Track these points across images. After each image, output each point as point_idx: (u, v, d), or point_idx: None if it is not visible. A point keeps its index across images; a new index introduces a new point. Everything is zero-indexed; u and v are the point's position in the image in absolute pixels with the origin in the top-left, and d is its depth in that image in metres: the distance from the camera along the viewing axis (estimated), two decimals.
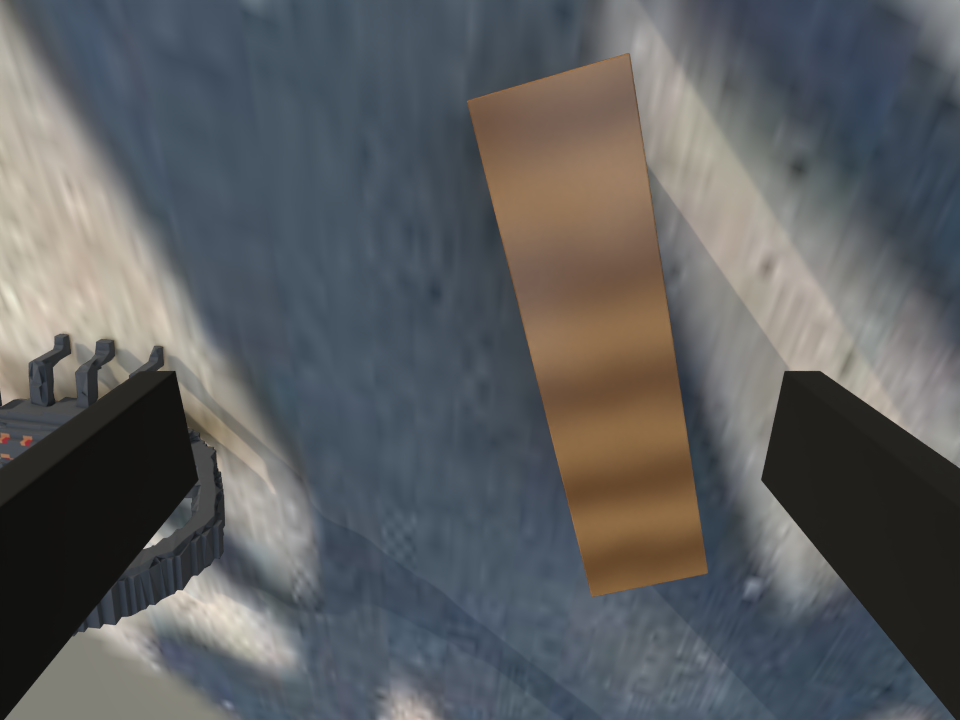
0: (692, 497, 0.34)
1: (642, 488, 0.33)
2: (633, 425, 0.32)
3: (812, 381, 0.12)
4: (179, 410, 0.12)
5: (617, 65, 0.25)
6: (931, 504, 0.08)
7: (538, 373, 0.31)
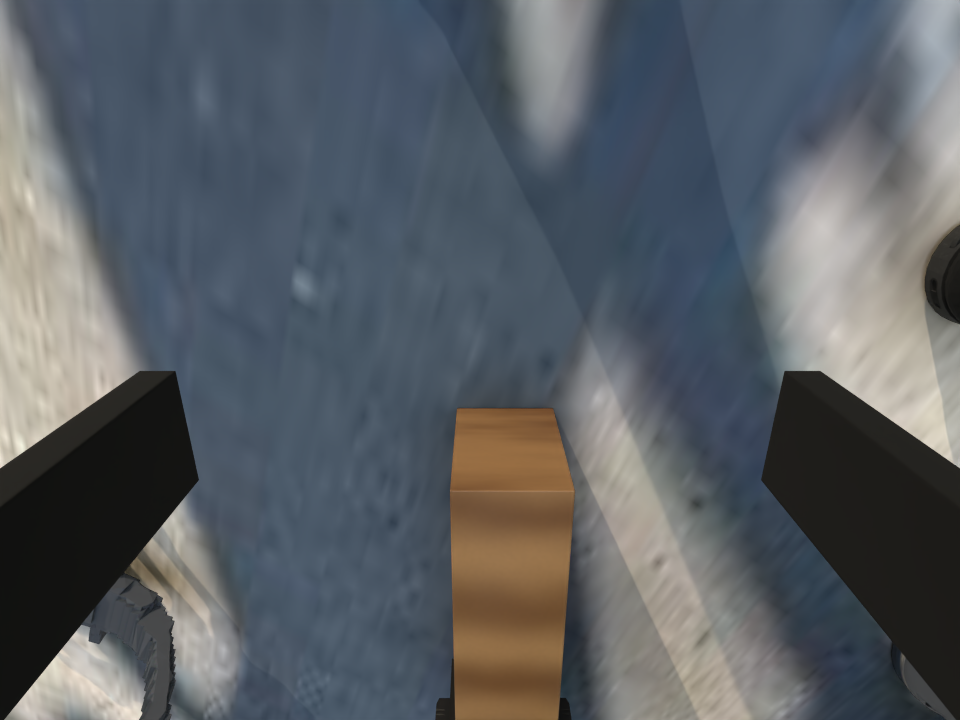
0: None
1: None
2: (519, 708, 0.41)
3: (812, 381, 0.12)
4: (179, 410, 0.12)
5: (564, 495, 0.34)
6: (931, 504, 0.08)
7: (455, 662, 0.39)
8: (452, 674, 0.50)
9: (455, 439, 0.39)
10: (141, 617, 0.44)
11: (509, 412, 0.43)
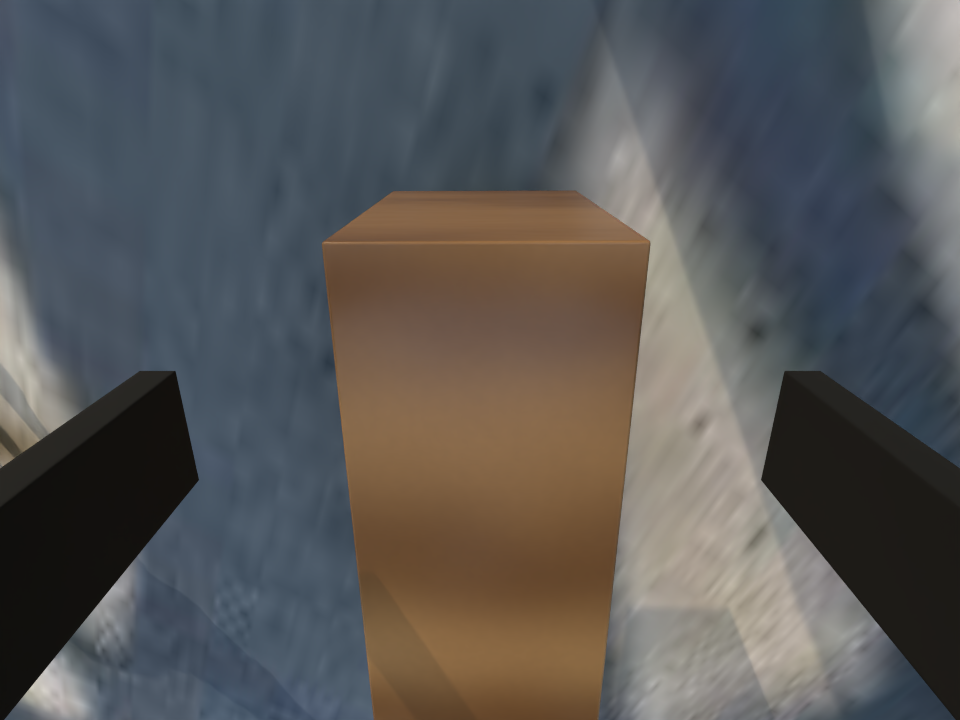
0: None
1: None
2: None
3: (812, 381, 0.12)
4: (179, 410, 0.12)
5: (623, 256, 0.13)
6: (930, 504, 0.08)
7: (373, 681, 0.18)
8: None
9: (372, 207, 0.18)
10: None
11: (492, 192, 0.22)
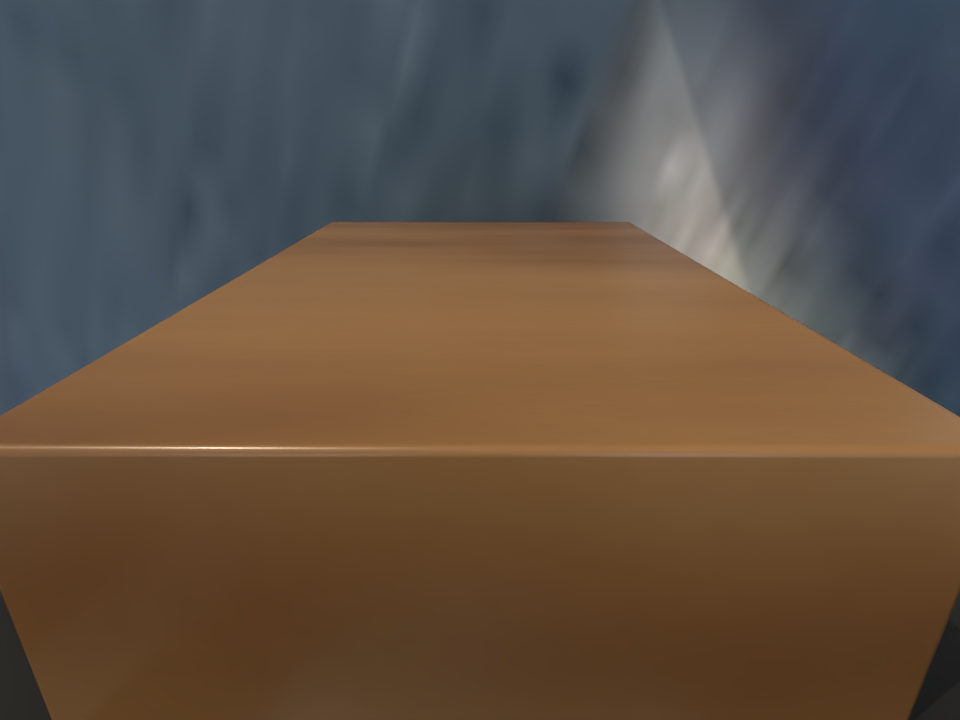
0: None
1: None
2: None
3: None
4: None
5: (920, 494, 0.04)
6: None
7: None
8: None
9: (264, 263, 0.10)
10: None
11: (493, 226, 0.13)
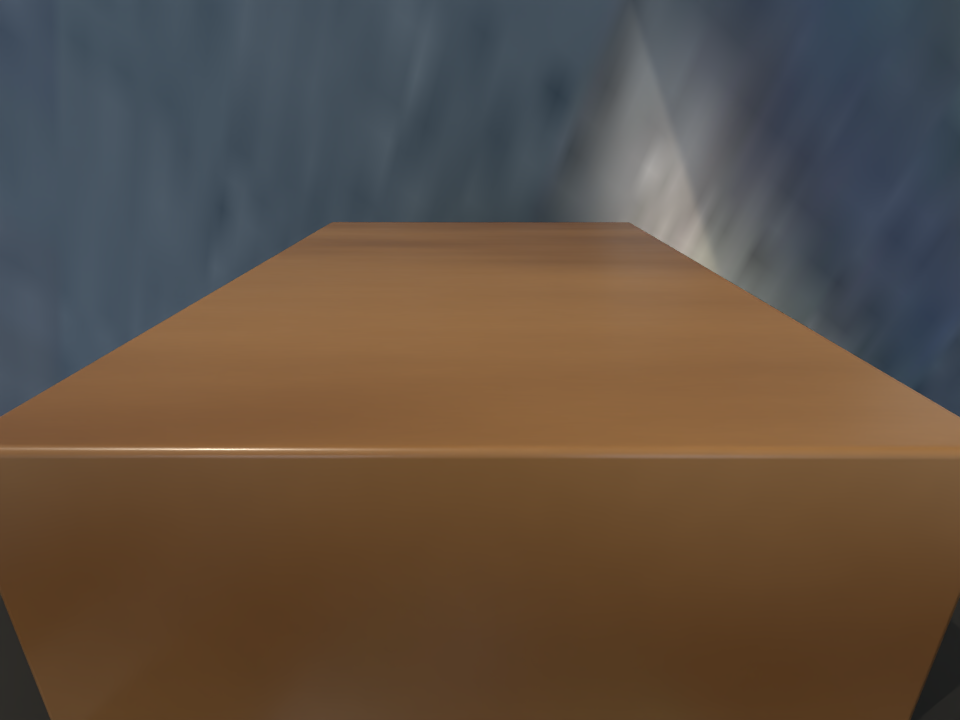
0: None
1: None
2: None
3: None
4: None
5: (920, 494, 0.04)
6: None
7: None
8: None
9: (264, 263, 0.10)
10: None
11: (494, 226, 0.13)
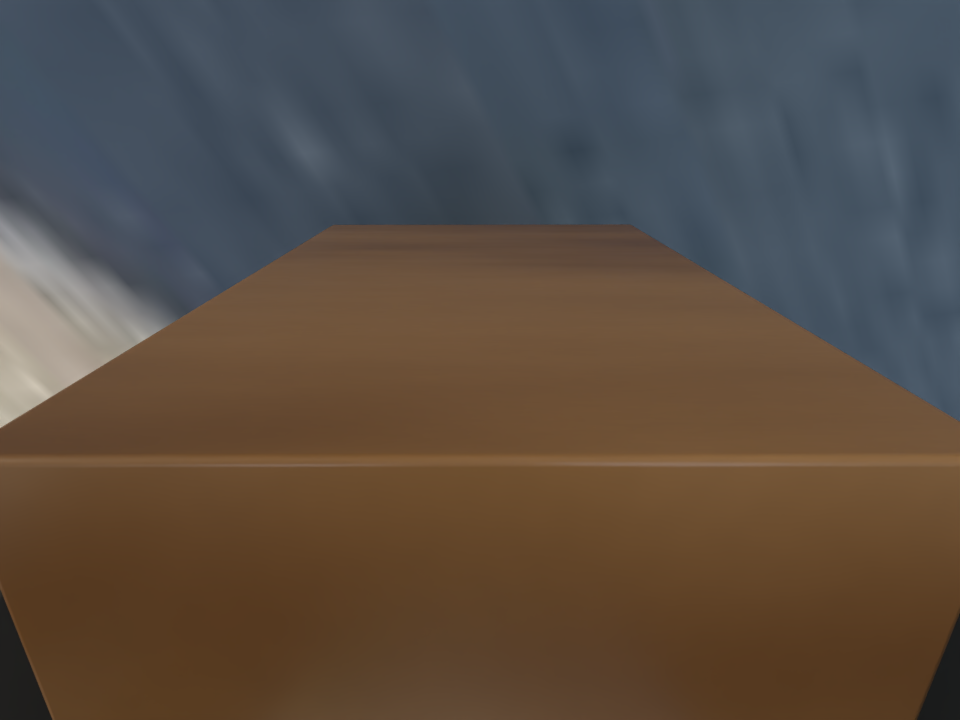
0: None
1: None
2: None
3: None
4: None
5: (926, 501, 0.04)
6: None
7: None
8: None
9: (266, 267, 0.10)
10: None
11: (495, 228, 0.13)
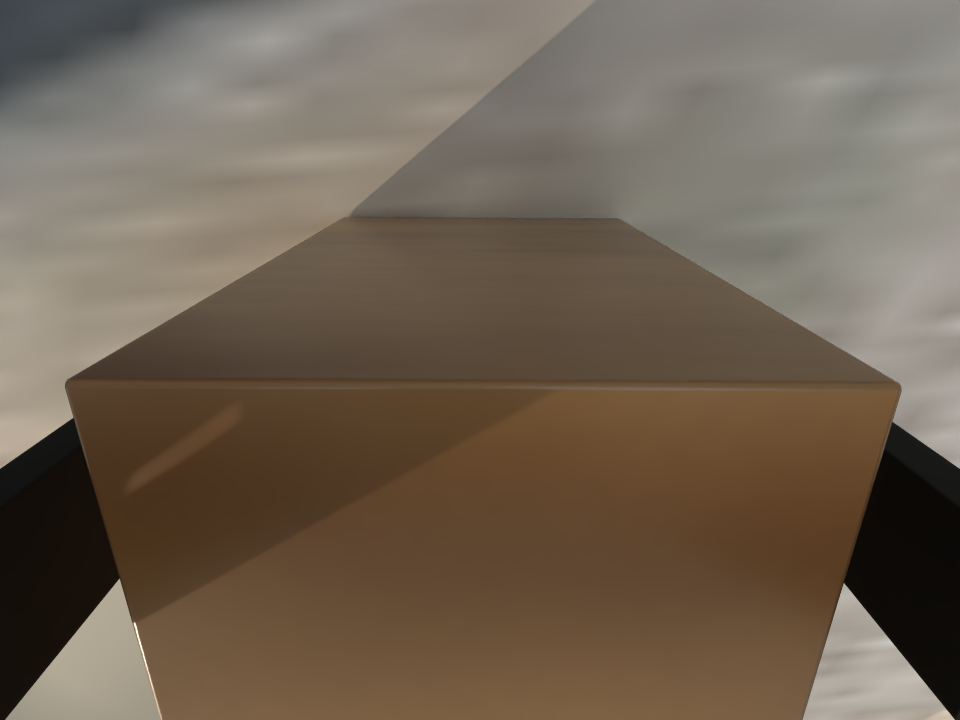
0: None
1: None
2: None
3: None
4: None
5: (829, 420, 0.05)
6: (929, 504, 0.08)
7: None
8: None
9: (288, 251, 0.11)
10: None
11: (494, 221, 0.14)
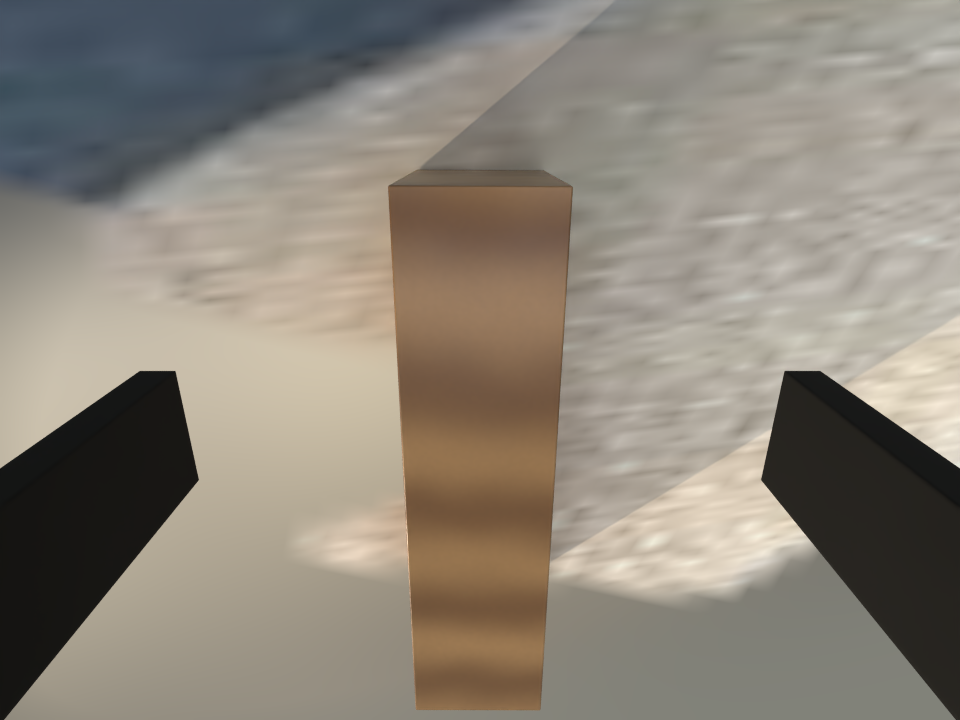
0: (540, 635, 0.32)
1: (491, 615, 0.31)
2: (496, 553, 0.30)
3: (812, 381, 0.12)
4: (179, 410, 0.12)
5: (557, 195, 0.23)
6: (931, 504, 0.08)
7: (406, 480, 0.28)
8: None
9: (407, 175, 0.28)
10: None
11: (485, 170, 0.32)
